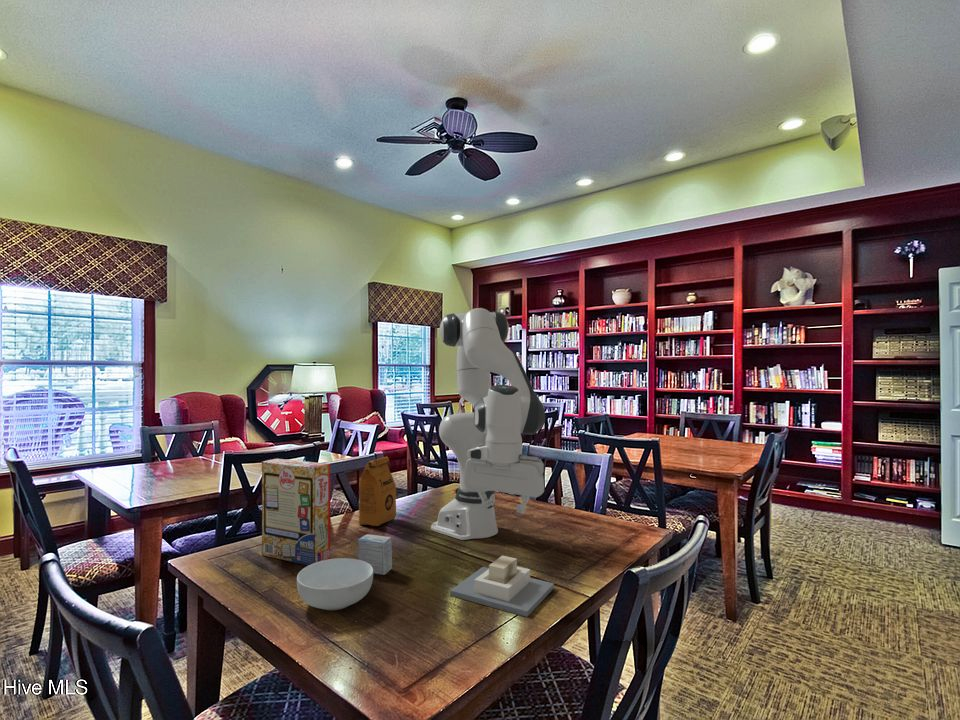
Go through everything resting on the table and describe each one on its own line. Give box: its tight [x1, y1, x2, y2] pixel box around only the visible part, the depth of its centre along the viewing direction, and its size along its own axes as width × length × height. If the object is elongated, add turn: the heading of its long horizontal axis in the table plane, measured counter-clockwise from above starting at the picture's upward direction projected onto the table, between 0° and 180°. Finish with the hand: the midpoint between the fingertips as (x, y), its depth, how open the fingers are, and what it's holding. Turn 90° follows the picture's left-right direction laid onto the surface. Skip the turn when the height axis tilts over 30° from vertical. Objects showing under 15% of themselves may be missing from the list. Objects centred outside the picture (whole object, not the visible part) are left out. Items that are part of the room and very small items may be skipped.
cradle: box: [449, 566, 555, 618], centre depth 121 cm, size 20×16×4 cm
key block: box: [488, 555, 518, 584], centre depth 121 cm, size 7×4×6 cm, turn 150°
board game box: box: [261, 458, 331, 566], centre depth 141 cm, size 20×6×27 cm, turn 65°
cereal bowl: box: [296, 557, 374, 611], centre depth 116 cm, size 17×17×7 cm
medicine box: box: [357, 533, 393, 576], centre depth 133 cm, size 8×4×9 cm, turn 71°
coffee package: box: [358, 456, 397, 527], centre depth 173 cm, size 10×12×22 cm
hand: (503, 509), depth 121 cm, fingers open, 8 cm apart
